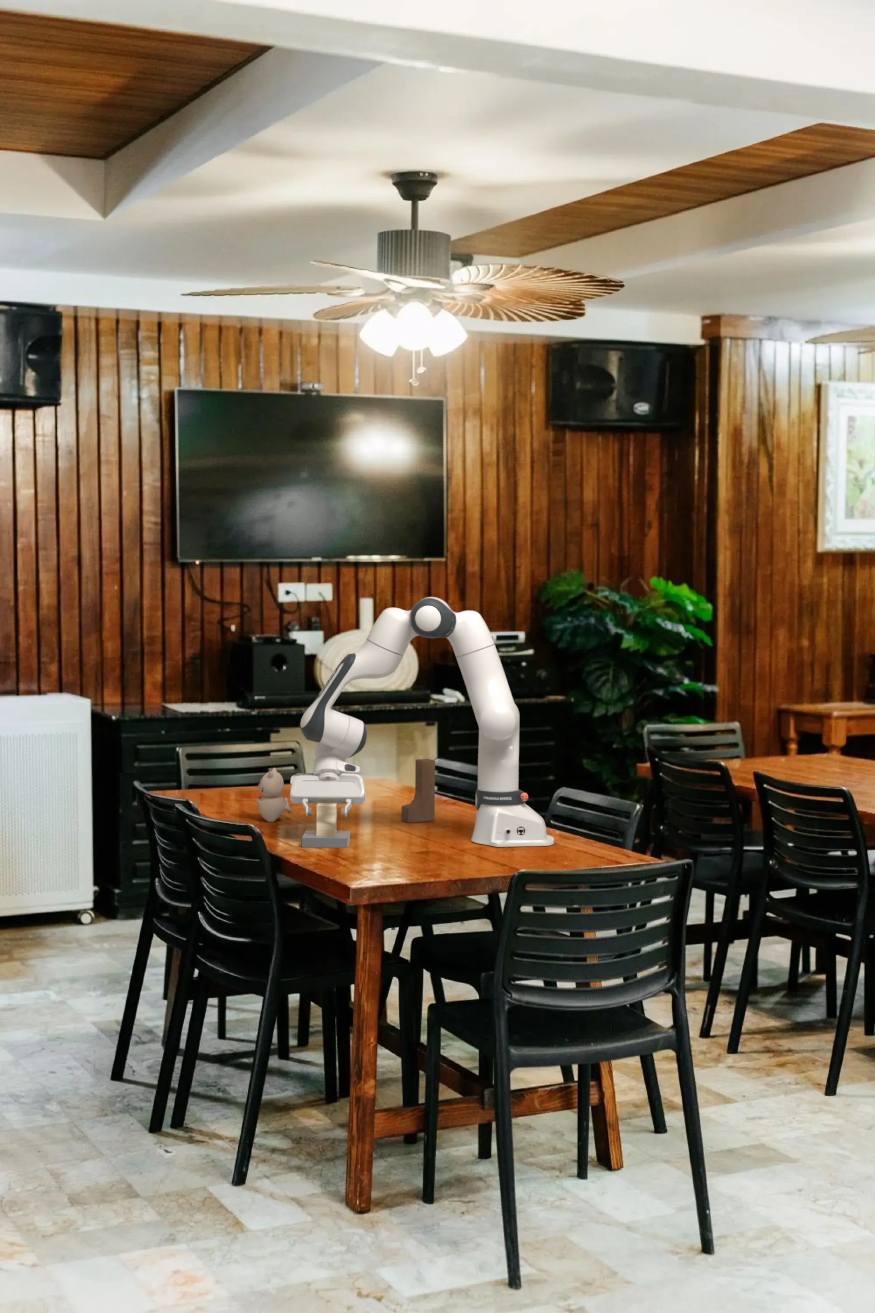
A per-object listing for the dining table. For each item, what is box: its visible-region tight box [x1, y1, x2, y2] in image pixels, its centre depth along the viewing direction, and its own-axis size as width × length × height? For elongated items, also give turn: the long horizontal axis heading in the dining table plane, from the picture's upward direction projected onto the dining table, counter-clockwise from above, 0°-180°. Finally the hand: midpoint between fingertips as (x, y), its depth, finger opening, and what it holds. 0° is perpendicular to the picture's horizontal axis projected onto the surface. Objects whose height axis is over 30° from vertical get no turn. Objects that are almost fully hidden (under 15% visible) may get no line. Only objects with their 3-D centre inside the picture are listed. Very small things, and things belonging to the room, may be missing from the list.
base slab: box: [301, 830, 351, 849], centre depth 409 cm, size 12×12×2 cm
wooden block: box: [400, 758, 436, 824], centre depth 449 cm, size 9×4×18 cm, turn 118°
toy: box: [255, 767, 294, 823], centre depth 449 cm, size 12×10×15 cm
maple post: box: [316, 803, 338, 836], centre depth 409 cm, size 5×5×8 cm
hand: (326, 814), depth 409 cm, fingers open, 8 cm apart
